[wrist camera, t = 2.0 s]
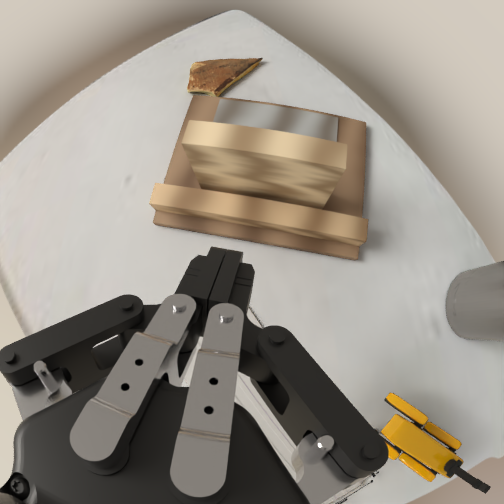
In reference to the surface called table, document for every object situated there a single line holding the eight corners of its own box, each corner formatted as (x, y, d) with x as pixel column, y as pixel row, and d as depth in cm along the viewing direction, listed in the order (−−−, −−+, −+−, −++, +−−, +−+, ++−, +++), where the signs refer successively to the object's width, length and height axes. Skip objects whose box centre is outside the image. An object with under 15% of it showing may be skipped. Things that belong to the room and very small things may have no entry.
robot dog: (430, 475, 29) (479, 515, 16) (347, 421, 31) (389, 469, 18) (456, 443, 30) (512, 474, 16) (378, 384, 32) (435, 414, 19)
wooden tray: (364, 126, 38) (371, 112, 35) (355, 260, 35) (364, 254, 31) (194, 99, 40) (190, 83, 36) (155, 224, 36) (145, 216, 33)
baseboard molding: (241, 273, 36) (156, 329, 34) (239, 270, 33) (148, 330, 32) (377, 466, 30) (299, 513, 29) (384, 476, 27) (301, 525, 26)
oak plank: (323, 191, 36) (347, 144, 25) (321, 211, 35) (345, 169, 24) (207, 171, 36) (189, 120, 25) (202, 190, 36) (181, 143, 25)
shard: (262, 64, 42) (262, 56, 40) (263, 99, 40) (264, 91, 38) (193, 67, 42) (191, 60, 40) (188, 102, 40) (185, 95, 38)
